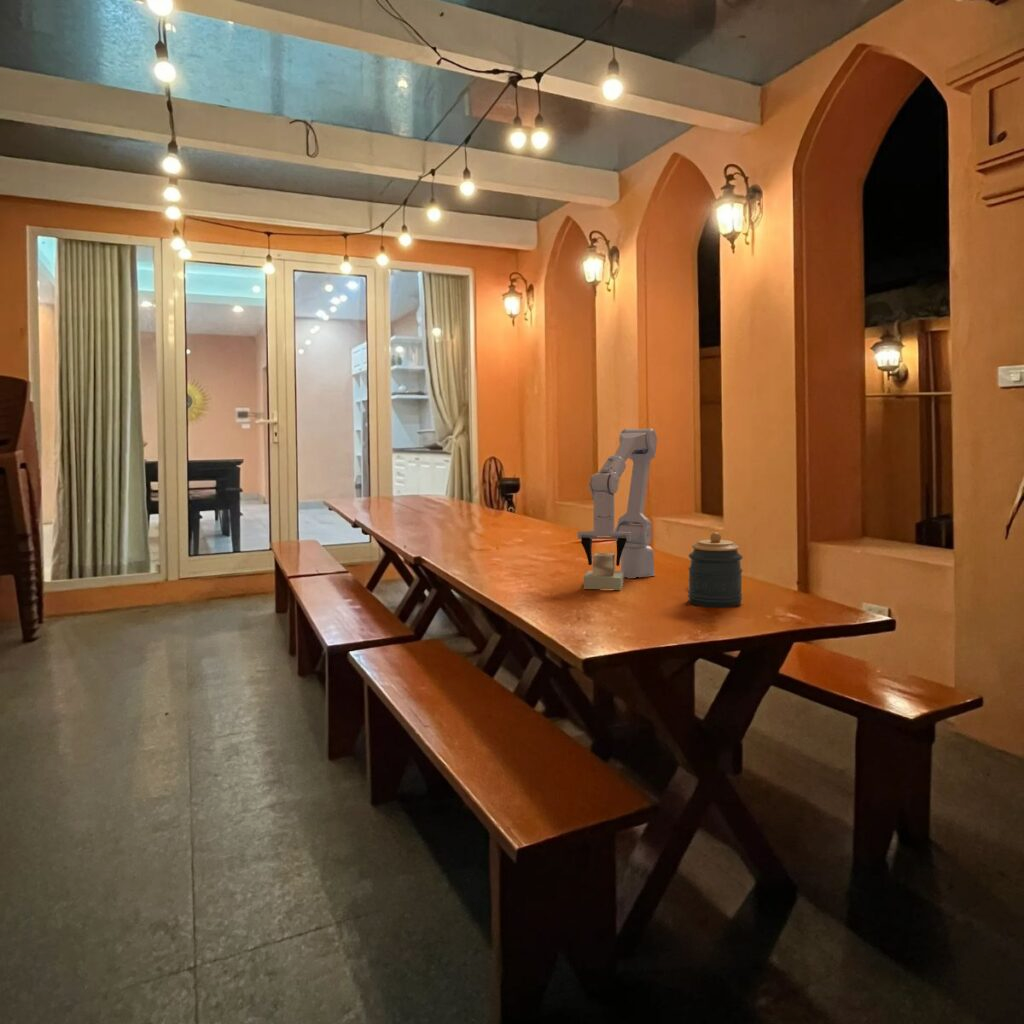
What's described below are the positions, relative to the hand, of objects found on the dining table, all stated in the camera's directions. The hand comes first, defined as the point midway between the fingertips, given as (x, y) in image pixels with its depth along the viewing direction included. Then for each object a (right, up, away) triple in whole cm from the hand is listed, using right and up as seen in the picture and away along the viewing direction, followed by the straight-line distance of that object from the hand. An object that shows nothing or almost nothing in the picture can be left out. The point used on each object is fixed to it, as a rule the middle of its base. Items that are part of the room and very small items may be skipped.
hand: (604, 564), depth 203 cm
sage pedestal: (0, -6, +1) cm, 6 cm away
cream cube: (0, -3, 0) cm, 3 cm away
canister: (+25, -8, -21) cm, 34 cm away
